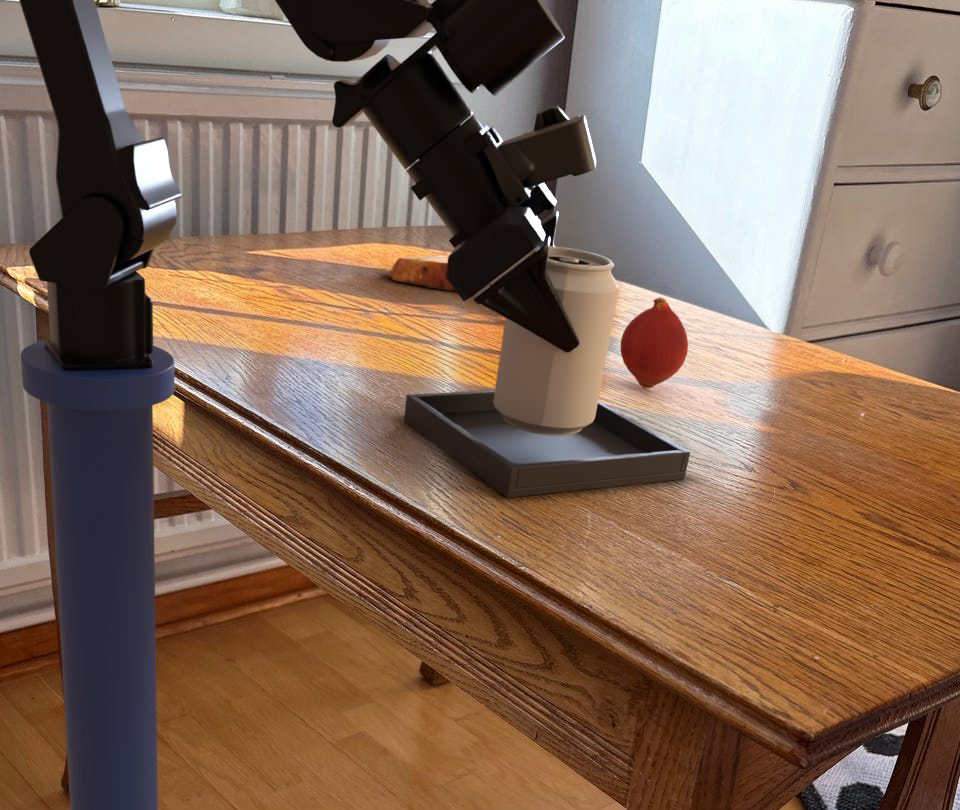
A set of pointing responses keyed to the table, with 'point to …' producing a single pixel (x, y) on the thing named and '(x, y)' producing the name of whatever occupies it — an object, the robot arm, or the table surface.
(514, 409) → the can
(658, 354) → the onion
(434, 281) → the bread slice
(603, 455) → the tray
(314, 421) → the table surface
